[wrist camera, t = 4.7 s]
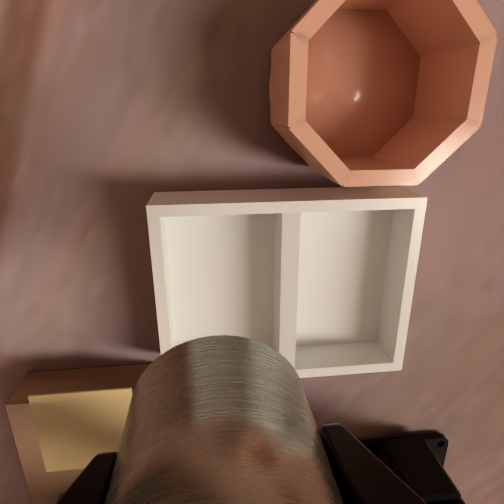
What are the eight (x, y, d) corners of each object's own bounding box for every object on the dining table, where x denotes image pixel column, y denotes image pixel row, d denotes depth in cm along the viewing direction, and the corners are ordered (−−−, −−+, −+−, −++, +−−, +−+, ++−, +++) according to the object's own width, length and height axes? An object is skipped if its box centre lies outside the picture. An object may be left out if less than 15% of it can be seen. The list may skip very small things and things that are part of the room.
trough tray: (379, 340, 23) (401, 370, 20) (169, 354, 22) (164, 388, 19) (398, 185, 20) (427, 197, 17) (154, 192, 18) (145, 205, 16)
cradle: (178, 541, 27) (175, 602, 23) (71, 554, 26) (51, 618, 23) (160, 356, 22) (151, 400, 18) (25, 365, 21) (-8, 413, 18)
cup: (411, 167, 19) (470, 183, 15) (268, 170, 19) (286, 188, 14) (434, -2, 17) (511, -39, 13) (269, -6, 16) (292, -47, 12)
